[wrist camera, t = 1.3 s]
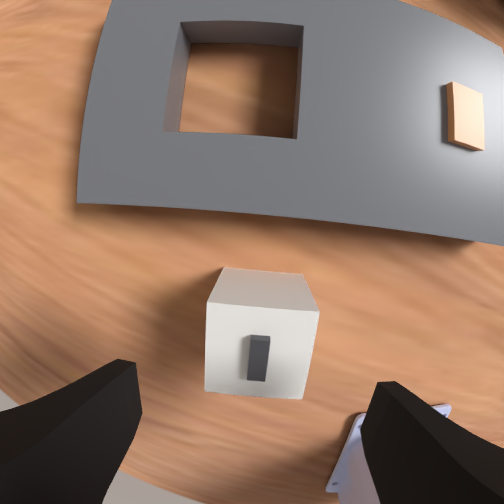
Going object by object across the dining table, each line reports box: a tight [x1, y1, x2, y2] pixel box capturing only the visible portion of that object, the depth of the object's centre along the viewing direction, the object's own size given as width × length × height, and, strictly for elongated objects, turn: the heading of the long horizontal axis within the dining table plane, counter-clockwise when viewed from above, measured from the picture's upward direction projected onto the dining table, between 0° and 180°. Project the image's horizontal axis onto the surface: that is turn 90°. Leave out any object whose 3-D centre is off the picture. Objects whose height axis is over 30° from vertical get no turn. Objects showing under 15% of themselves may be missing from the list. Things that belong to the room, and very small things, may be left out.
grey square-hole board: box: [77, 0, 504, 246], centre depth 12 cm, size 12×22×3 cm, turn 85°
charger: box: [205, 267, 320, 399], centre depth 13 cm, size 4×4×5 cm
